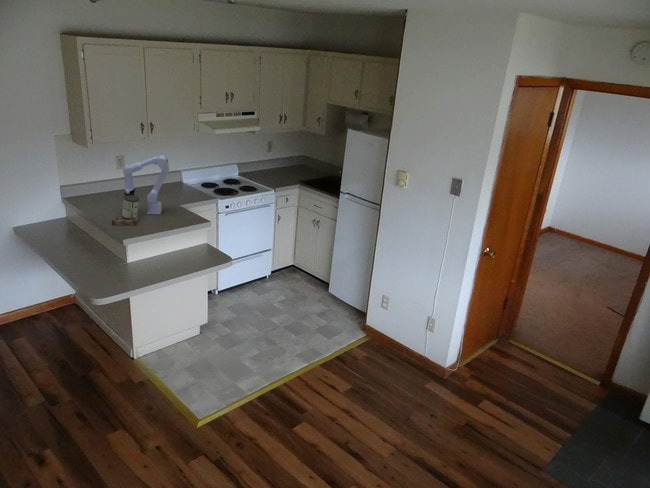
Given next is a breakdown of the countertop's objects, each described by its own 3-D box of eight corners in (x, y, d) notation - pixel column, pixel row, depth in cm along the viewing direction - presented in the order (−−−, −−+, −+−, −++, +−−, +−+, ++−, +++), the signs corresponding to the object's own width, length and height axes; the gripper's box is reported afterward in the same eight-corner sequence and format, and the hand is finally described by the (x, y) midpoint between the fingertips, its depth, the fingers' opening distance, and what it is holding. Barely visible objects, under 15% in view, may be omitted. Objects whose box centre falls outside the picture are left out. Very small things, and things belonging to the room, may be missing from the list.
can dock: (139, 220, 354) (138, 216, 352) (136, 225, 344) (136, 221, 343) (115, 220, 351) (115, 216, 350) (112, 225, 342) (111, 221, 341)
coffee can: (124, 211, 362) (126, 193, 357) (139, 214, 364) (141, 197, 358) (119, 216, 353) (121, 198, 347) (134, 219, 354) (136, 201, 349)
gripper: (125, 179, 365) (127, 197, 370) (120, 185, 352) (122, 203, 357) (135, 179, 366) (137, 197, 371) (131, 185, 353) (133, 203, 358)
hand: (130, 200), depth 364 cm, fingers open, 7 cm apart
